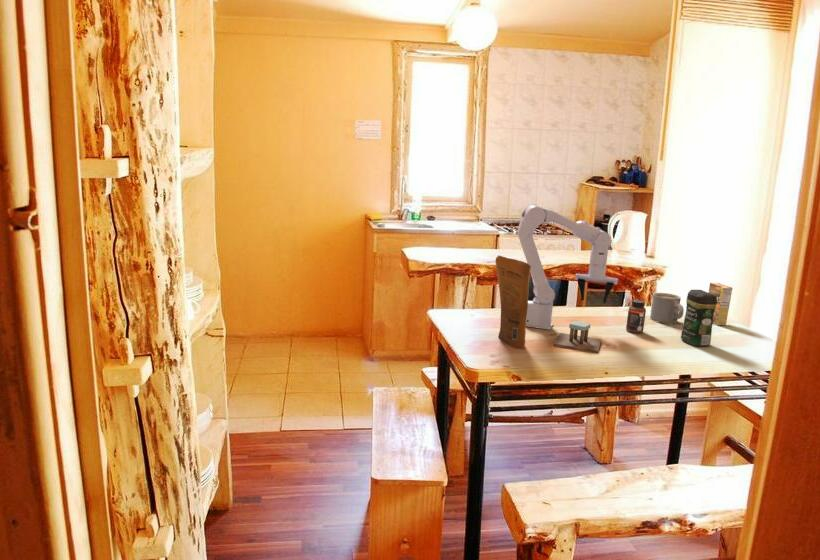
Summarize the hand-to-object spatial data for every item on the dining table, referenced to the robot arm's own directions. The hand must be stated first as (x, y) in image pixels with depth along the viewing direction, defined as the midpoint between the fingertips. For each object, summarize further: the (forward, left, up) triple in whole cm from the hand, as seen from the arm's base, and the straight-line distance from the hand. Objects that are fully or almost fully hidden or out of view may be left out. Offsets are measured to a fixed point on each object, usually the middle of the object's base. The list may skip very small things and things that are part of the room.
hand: (593, 301), depth 220 cm
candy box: (+44, +38, -11) cm, 59 cm away
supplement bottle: (+15, +6, -11) cm, 19 cm away
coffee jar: (+35, +2, -11) cm, 37 cm away
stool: (-2, -21, -10) cm, 23 cm away
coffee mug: (+26, +28, -11) cm, 40 cm away
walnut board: (-2, -21, -10) cm, 24 cm away
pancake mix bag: (-23, -31, -11) cm, 40 cm away
